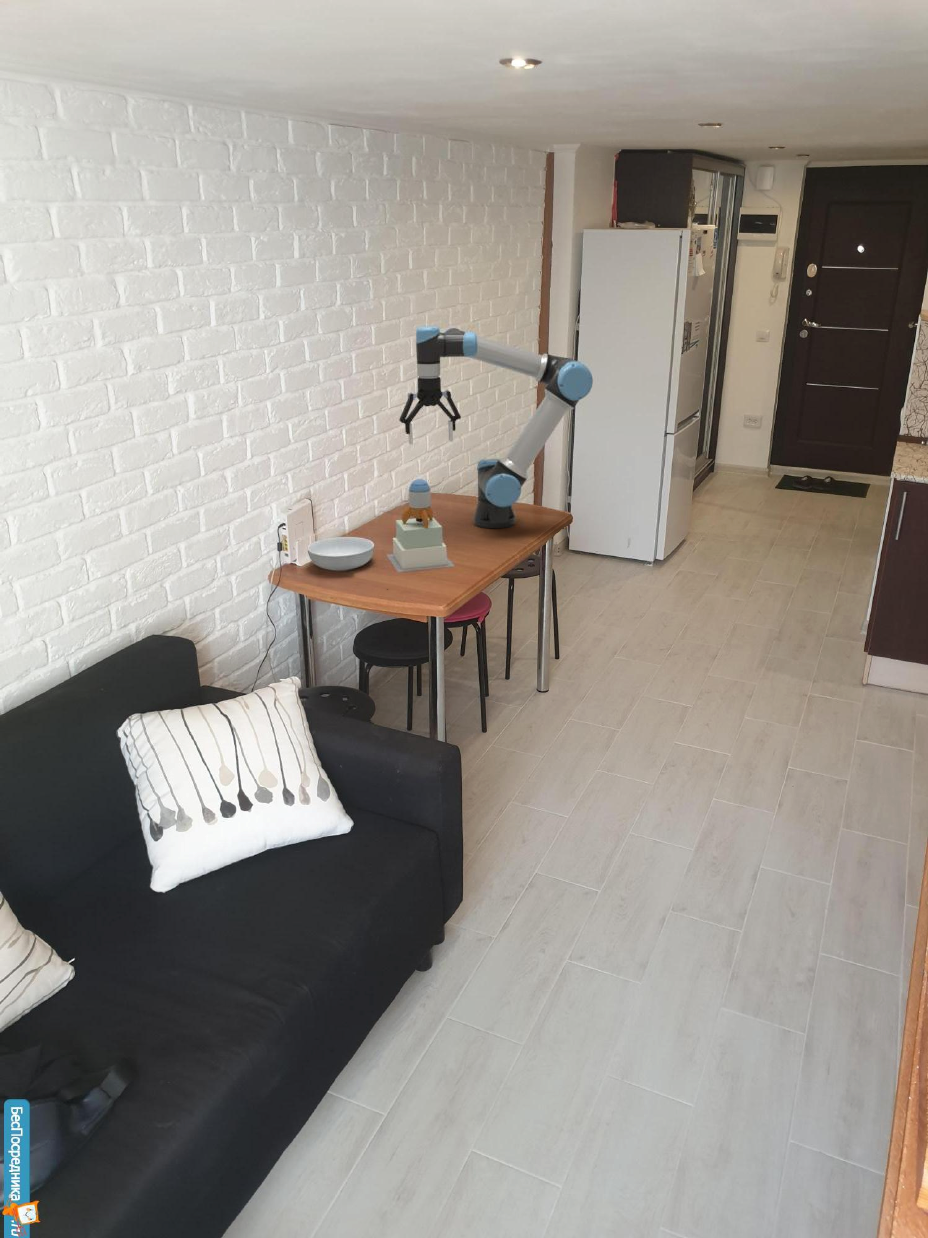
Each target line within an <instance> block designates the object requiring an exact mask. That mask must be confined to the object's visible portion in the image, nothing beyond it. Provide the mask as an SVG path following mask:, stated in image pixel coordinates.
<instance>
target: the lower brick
mask: <svg viewBox="0 0 928 1238" xmlns="http://www.w3.org/2000/svg"><path fill="white" fill-rule="evenodd" d="M392 545H393V546H392V548H393V554H394V557H395V559H396V560H397V561H398V563H399V564H400V566H401V567H402V569H411V568H420V567H430V566H439V565H447V558H448V556H447V555H448V553H447V546H446V543H444V542H443V546H435V547H425V548H415V549H404V548H403V546H402V545H401V544H400V542H399V541H398V540H397V537H393V538H392Z"/></svg>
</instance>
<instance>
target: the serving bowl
mask: <svg viewBox="0 0 928 1238" xmlns="http://www.w3.org/2000/svg"><path fill="white" fill-rule="evenodd" d="M374 552H375V544H374V542H373V541H372V540H370V539H367V538H364V537H356V536H355V537H354V536H339V537H329V538H328V537H327V538H324V539H320V540H316V541H314V542H312V543H310V544H308V546H307V554H308V557H309V559H310V560H311V562H312V563H313V564H314V565H316V566H317V567H319V568H321V569H325V570H328V571H329V570H330V571H335V572H344V571H345V572H346V571H350V570H354V569H357V568H360V567H362V566H364V565H366V564H367V563H368V562H369V561H370V560H371V558H372V557H373V556H374Z"/></svg>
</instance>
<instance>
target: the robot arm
mask: <svg viewBox="0 0 928 1238" xmlns="http://www.w3.org/2000/svg"><path fill="white" fill-rule="evenodd" d="M415 331H416V333H415V334H416V335H415V346H416V369H417V371H416V372H417V373H416V376H418V378H417V392H416V393H415V392H414V393H413V392H408V393H407V400H406V403H405V406H404V407H403V410H402V413H401V415H400V416H399V419H398V420H399V422H401V423H402V424H404V427H405V428H404V430H405V433H406V435H408V444H409V445H413V444H414V442H413V441H414V439H413V438H414V437H413V424H412V421H413V420H414V419H415V417H416V416H417V414H418V413H419V411H421V409H423V407H436V406H438V407H439V408H440V410H442V412H443V413H444V414H445V415H446V416H447V417H448V418H449V419H450V420H448V421H447V424H448V430H447V431H448V434H447V435H448V441H449V442H453V441H454V437H453V436H454V435H453V434H454V433H453V432H456V422H457V420H460V419H461V417H462V416H461V414H460V412H459V410H458V409H457V408H458V407H456V405H455V403H454V400H453V398H452V393H451V391H450V390H449V389H447V390H445V391H442V387H441V386H442V380H441V379H442V378H441V377H440V376H441V358H457V357H460V358H462V357H464V358H470V359H473V360H477V361H481V362H482V363H486V364H490V365H493V366H496V367H498V368H499V367H500V368H503V369H506V370H508V371H509V370H510V371H513V372H516V373H519V374H521V375H522V374H523V375H526V376H529V377H531V378H532V377H533V378H534V379H535V381H536V382H539V383H542V384H544V385H546V387H545V388H544V394H545V395H544V398H543V399H542V401H541V403H540V404H539V406H538V407H537V408H536V410H535V411H534V413H533V414H532V416H531V418H530V419H529V420H528V423H527V424H526V425H525V427H524V428H523V429H522V432H521V433H520V435H519V436H518V438H517V439H516V440H515V442H514V444H513V445H512V447H511V449H510V450H509V451H508V453H507V454H506V456H504V457H501V458H487V459H481V460H479V461H477V468H476V469H477V470H476V471H477V504H476V508H475V510H474V514H473V519H472V521H473V522H472V523H473V525H475V526H476V527H480V528H484V529H503V528H509V527H512V526H514V525H515V524H516V514H515V511H514V508H513V506H512V505H514V504H515V503H516V502H517V501H518V500H519V498H520V496H521V494H522V487H523V486H524V484H525V482H526V481H527V479H528V473H527V472H528V470H529V468H530V467H531V465H532V464H533V462H534V461H535V459H536V458H537V457H538V455H539V453H540V451H542V449H543V448H544V446H545V444H546V443H547V441H548V440H549V438H550V437H551V435H552V434H553V432H554V431H555V429H556V427H558V425H559V424H560V422H561V420H562V419H563V418H564V415H565V414H566V412H567V411H571V410H574V409H575V407H576V406H577V405H578V403H579V401H580V400H582V399H584V398H586V397H587V396H588V394H590V392H591V390H592V388H593V381H594V380H593V379H594V378H593V374H592V372H591V370H590V369H589V368H588V366H587V365H586V364H585V363H582V362H580V361H578V360H575V359H574V358H570V357H563V356H557V355H552V354H549V353H543V354H539V353H538V354H537V353H534V352H531V351H529V350H525V349H521V348H518V347H515V346H512V345H509V344H506V343H502V342H499V341H496V340H492V339H489V338H486V337H483V336H481V335H477V333H475V332H473V331H472V332H471V331H463V330H460V329H459V328H455V327H452V328H448V329H446V330H445V331H444V332H441V331H440V328H439V326H430V325H429V326H427V325H426V326H420V327H418V328H416V330H415ZM416 398H417V399H418V402H416V405H415V406H414V408H413V409H412V410H411V407H412V405H413V402H414V401H415V400H416ZM442 398H445V399H446V401H447V403H448V405H449V407H450V408H451V412H453V414H452V413H451V412H450V410H448V408H447V407H446V406H445V405H444V403H443V402H442V401H441V399H442ZM410 410H411V412H410V413H409V411H410Z"/></svg>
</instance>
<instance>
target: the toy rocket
mask: <svg viewBox="0 0 928 1238" xmlns="http://www.w3.org/2000/svg"><path fill="white" fill-rule="evenodd" d="M431 503H432V493H431V487H430V485H429V483H428V482H427V480H425V479H423V478H417V479H415V480H413V481H412V482H411V483H410V485H409V488H408V504H409V505H408V507H407V508H405V509H404V510H403V512H402V514H401V520H402V522H403V524H405V523H406V522H407V520H408V519H410V518H411V517H413V519H416V521H417V522H423V523H424V526H425V528H428V518H429V519H430V520H432V519H433V518H434V512H433V509H432V507H431Z"/></svg>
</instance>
